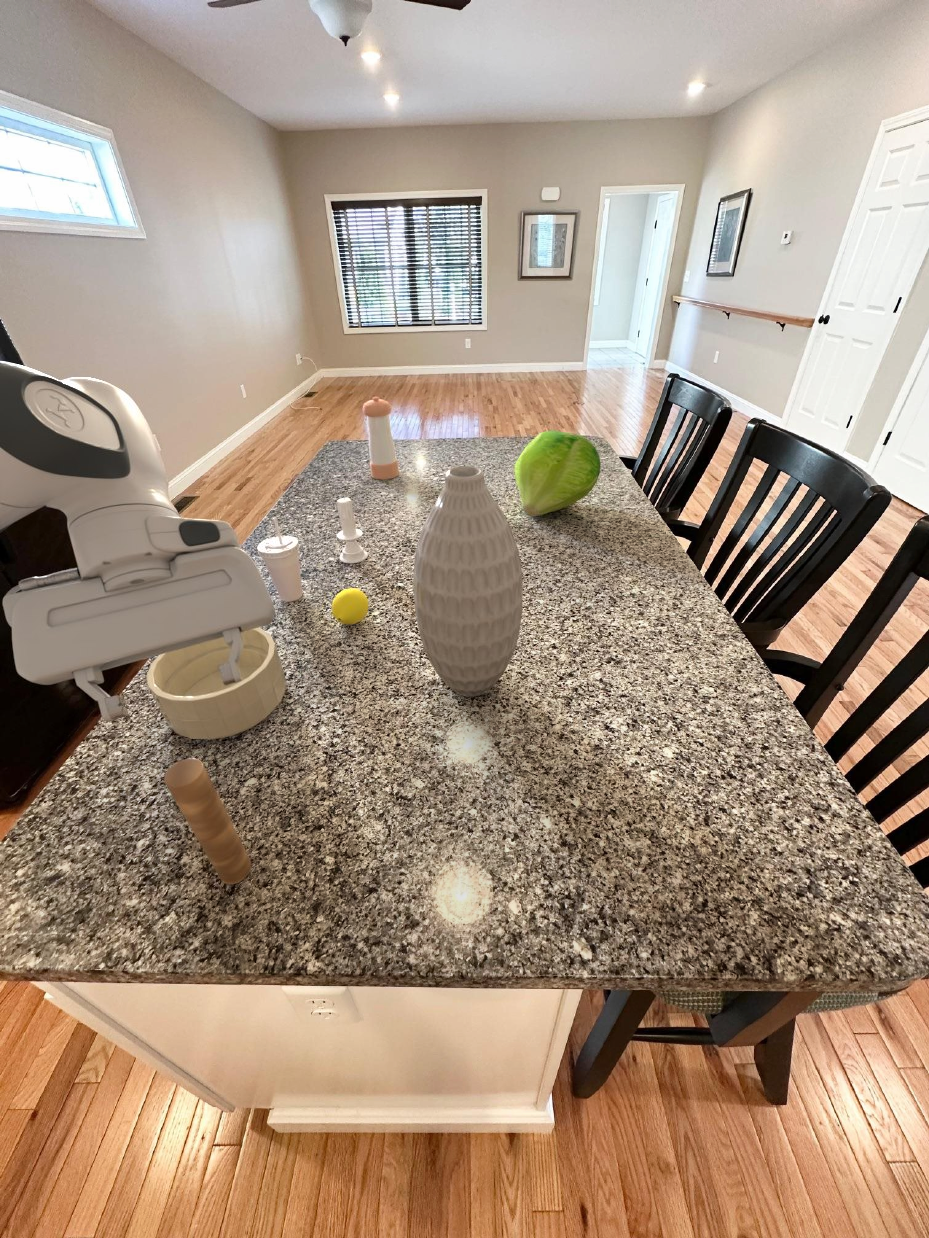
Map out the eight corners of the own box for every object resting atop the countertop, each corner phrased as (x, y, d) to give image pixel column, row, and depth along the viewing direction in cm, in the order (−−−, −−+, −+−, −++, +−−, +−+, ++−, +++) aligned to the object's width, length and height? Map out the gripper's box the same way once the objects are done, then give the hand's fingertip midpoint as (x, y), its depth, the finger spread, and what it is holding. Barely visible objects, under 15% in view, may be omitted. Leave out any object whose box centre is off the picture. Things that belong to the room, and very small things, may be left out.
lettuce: (488, 503, 116) (502, 465, 100) (536, 442, 121) (557, 396, 105) (549, 547, 116) (573, 516, 100) (594, 483, 121) (625, 444, 105)
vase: (495, 728, 61) (496, 503, 45) (404, 697, 66) (375, 483, 50) (533, 665, 70) (545, 460, 54) (451, 642, 75) (439, 447, 59)
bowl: (176, 762, 58) (152, 719, 54) (162, 689, 68) (142, 648, 64) (301, 712, 64) (288, 669, 60) (271, 652, 74) (259, 612, 70)
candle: (373, 554, 98) (365, 494, 91) (354, 566, 94) (343, 504, 88) (353, 548, 101) (343, 489, 94) (333, 559, 97) (321, 499, 90)
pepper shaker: (366, 478, 133) (355, 400, 122) (377, 469, 139) (367, 393, 128) (393, 480, 131) (384, 400, 120) (402, 470, 137) (394, 394, 126)
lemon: (348, 606, 83) (342, 577, 80) (378, 611, 82) (373, 582, 79) (326, 631, 78) (319, 601, 75) (357, 636, 77) (352, 606, 74)
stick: (222, 890, 46) (165, 793, 38) (217, 865, 48) (161, 767, 40) (254, 874, 47) (206, 776, 39) (248, 850, 49) (200, 752, 41)
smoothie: (313, 600, 85) (294, 522, 77) (273, 609, 83) (250, 530, 75) (308, 582, 90) (290, 507, 82) (270, 590, 88) (248, 514, 80)
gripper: (-24, 573, 40) (17, 742, 39) (247, 518, 47) (291, 659, 46) (17, 595, 46) (54, 742, 45) (253, 543, 53) (292, 668, 52)
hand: (177, 699), depth 45 cm, fingers open, 8 cm apart
